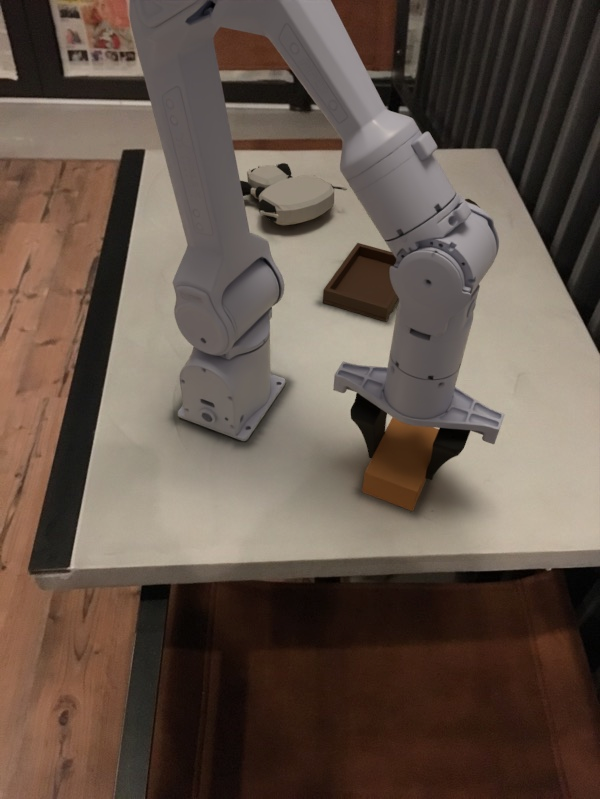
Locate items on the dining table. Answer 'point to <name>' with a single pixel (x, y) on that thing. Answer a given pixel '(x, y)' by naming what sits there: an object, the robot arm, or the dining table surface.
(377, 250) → the frame
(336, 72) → the robot arm
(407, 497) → the orange block
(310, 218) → the robot toy
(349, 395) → the dining table surface
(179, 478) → the dining table surface
